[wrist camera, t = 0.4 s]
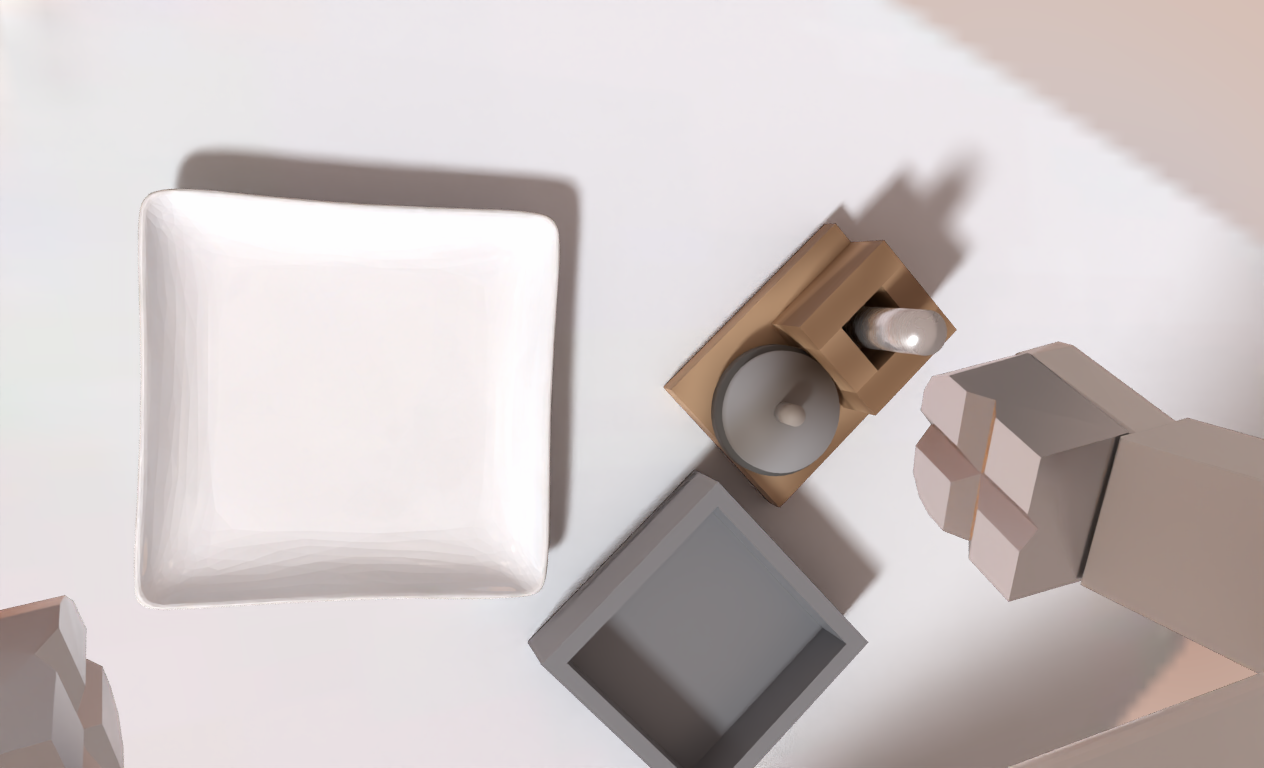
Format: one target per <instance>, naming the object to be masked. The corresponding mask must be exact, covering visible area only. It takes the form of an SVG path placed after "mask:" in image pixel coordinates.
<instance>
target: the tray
mask: <svg viewBox="0 0 1264 768" xmlns="http://www.w3.org/2000/svg"><path fill="white" fill-rule="evenodd" d="M867 643H868V642H867V641H866V640H865V638H864V637H863V636H862V635H861V634H860V633H859V632H858V631H857V630H856V629H855V628H854V627H853V626H852V625H851V623H850V622H849V621H848V620H847V619H846V618H845V617H844V616H843V615H842V614H841V613H840V612H839V611H838V609H837V608H836V607H835V606H834V605H833V604H832V603H831V602H830V601H829V600H828V599H827V598H826V597H825V596H824V594H823V593H822V592H821V591H820V590H819V589H818V588H817V587H816V586H815V585H814V584H813V583H812V582H811V581H810V579H809V578H808V577H807V576H806V575H805V574H804V573H803V572H802V571H801V570H800V569H799V568H798V567H797V566H796V564H795V563H794V562H793V561H792V560H791V559H790V558H789V557H788V556H787V555H786V554H785V553H784V552H783V551H782V549H781V548H780V547H779V546H778V545H777V544H776V543H775V542H774V541H773V540H772V539H771V538H770V537H769V536H768V534H767V533H766V532H765V531H764V530H763V529H762V528H761V527H760V526H759V525H758V524H757V523H756V522H755V521H754V519H753V518H752V517H751V516H750V515H749V514H748V513H747V512H746V511H745V510H744V509H743V508H742V507H741V506H740V504H739V503H738V502H737V501H736V500H735V499H734V498H733V497H732V496H731V495H730V494H729V493H728V492H727V491H726V489H725V488H724V487H723V486H722V485H721V484H720V483H719V482H718V481H716V480H714V479H712V478H710V477H708V476H706V475H704V474H702V473H700V472H698V471H696V470H694V471H693V472H692V473H691V474H690V475H689V476H688V477H687V478H686V479H685V480H684V481H683V482H682V483H681V484H680V485H679V486H678V487H677V488H676V490H675V491H674V492H673V493H672V494H671V495H670V496H669V497H668V498H667V499H666V500H665V501H664V502H663V503H662V504H661V505H660V506H659V507H658V508H657V509H656V510H655V511H654V512H653V513H652V514H651V515H650V516H649V517H648V518H647V519H646V520H645V521H644V523H643V524H642V525H641V526H640V527H639V528H638V529H637V530H636V531H635V532H634V533H633V534H632V535H631V536H630V537H629V538H628V539H627V540H626V541H625V542H624V543H623V544H622V545H621V546H620V547H619V548H618V549H617V550H616V551H615V552H614V553H613V554H612V556H611V557H610V558H609V559H608V560H607V561H606V562H605V563H604V564H603V565H602V566H601V567H600V568H599V569H598V570H597V571H596V572H595V573H594V574H593V575H592V576H591V577H590V578H589V579H588V580H587V581H586V582H585V583H584V584H583V585H582V586H581V587H580V589H579V590H578V591H577V592H576V593H575V594H574V595H573V596H572V597H571V598H570V599H569V600H568V601H567V602H566V603H565V604H564V605H563V606H562V607H561V608H560V609H559V610H558V611H557V612H556V613H555V614H554V615H553V616H552V617H551V618H550V619H549V620H548V621H547V623H546V624H545V625H544V626H543V627H542V628H541V629H540V630H539V631H538V632H537V633H536V634H535V635H534V636H533V637H532V638H531V639H530V640H529V641H528V644H529V645H530V647H531V649H532V650H533V652H534V653H535V655H536V657H537V658H538V660H539V661H540V663H541V665H542V666H543V667H544V668H545V669H547V670H548V671H549V672H550V673H551V674H552V675H553V676H554V677H555V678H556V679H557V680H558V681H559V682H560V683H561V684H562V685H563V686H565V687H566V688H567V689H568V690H569V691H570V692H571V693H572V694H573V695H574V696H575V697H576V698H577V699H578V700H579V701H580V702H581V703H583V704H584V705H585V706H586V707H587V708H588V709H589V710H590V711H591V712H592V713H593V714H594V715H595V716H596V717H597V718H598V719H599V720H601V721H602V722H603V723H604V724H605V725H606V726H607V727H608V728H609V729H610V730H611V731H612V732H613V733H614V734H615V735H616V736H617V737H619V738H620V739H621V740H622V741H623V742H624V743H625V744H626V745H627V746H628V747H629V748H630V749H631V750H632V751H633V752H634V753H635V754H637V755H638V756H639V757H640V758H641V759H642V760H643V761H644V762H645V763H646V764H647V765H648V766H649V767H650V768H754V767H755V766H756V765H757V764H758V763H759V762H760V760H761V759H762V758H763V757H764V756H765V755H766V754H767V753H768V752H769V751H770V749H771V748H772V747H773V746H774V745H775V744H776V743H777V742H778V741H779V740H780V739H781V737H782V736H783V735H784V734H785V733H786V732H787V731H788V730H789V729H790V728H791V727H792V725H793V724H794V723H795V722H796V721H797V720H798V719H799V718H800V717H801V716H802V714H803V713H804V712H805V711H806V710H807V709H808V708H809V707H810V706H811V705H812V704H813V702H814V701H815V700H816V699H817V698H818V697H819V696H820V695H821V694H822V693H823V691H824V690H825V689H826V688H827V687H828V686H829V685H830V684H831V683H832V682H833V681H834V679H835V678H836V677H837V676H838V675H839V674H840V673H841V672H842V671H843V670H844V668H845V667H846V666H847V665H848V664H849V663H850V662H851V661H852V660H853V659H854V658H855V656H856V655H857V654H858V653H859V652H860V651H861V650H862V649H863V648H864V647H865V645H866V644H867Z"/></svg>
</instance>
